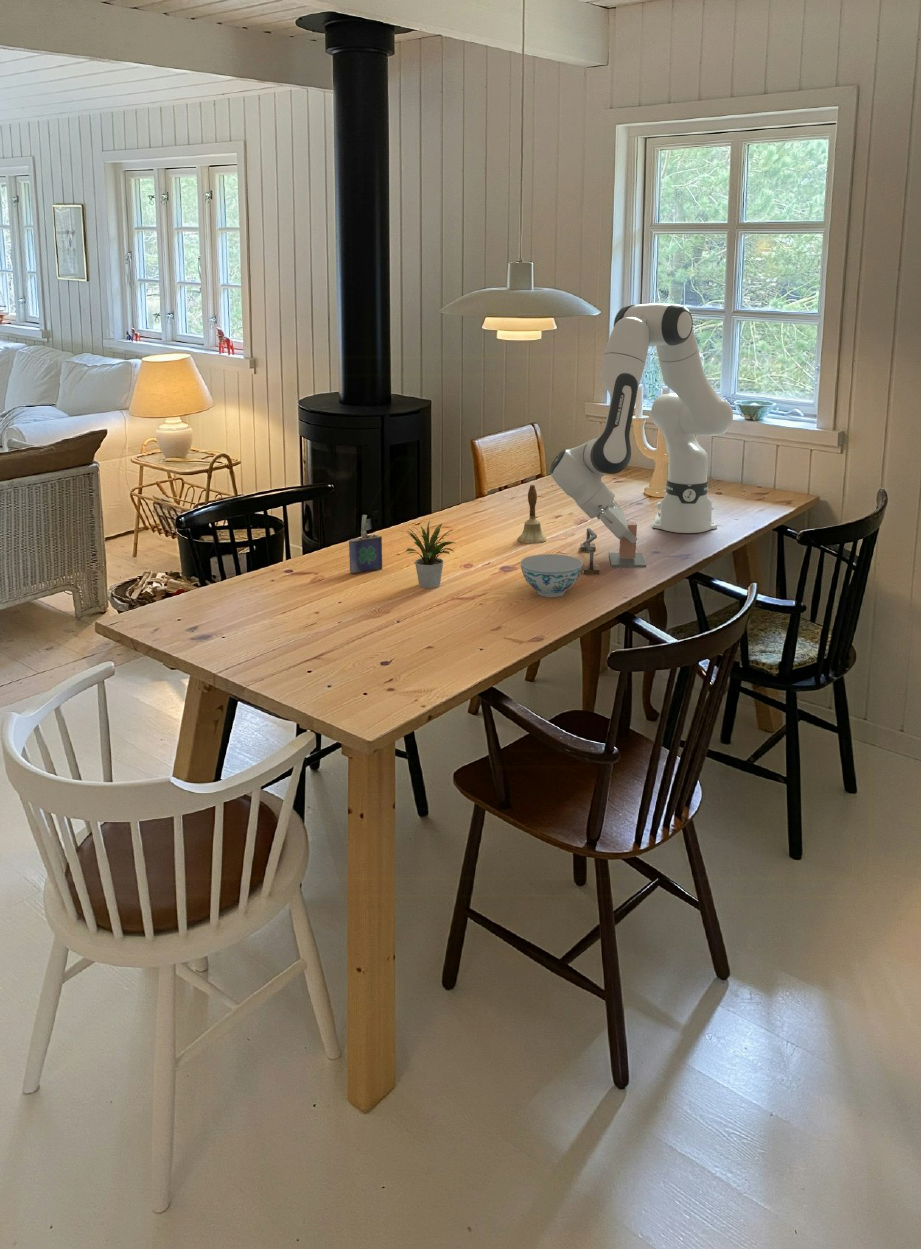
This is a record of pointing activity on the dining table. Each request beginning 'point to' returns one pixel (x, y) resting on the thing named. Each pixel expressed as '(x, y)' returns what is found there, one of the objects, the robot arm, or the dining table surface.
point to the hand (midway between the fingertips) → (634, 538)
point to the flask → (365, 553)
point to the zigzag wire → (591, 548)
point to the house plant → (429, 557)
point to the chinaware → (551, 573)
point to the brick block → (628, 543)
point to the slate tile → (627, 560)
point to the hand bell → (532, 522)
